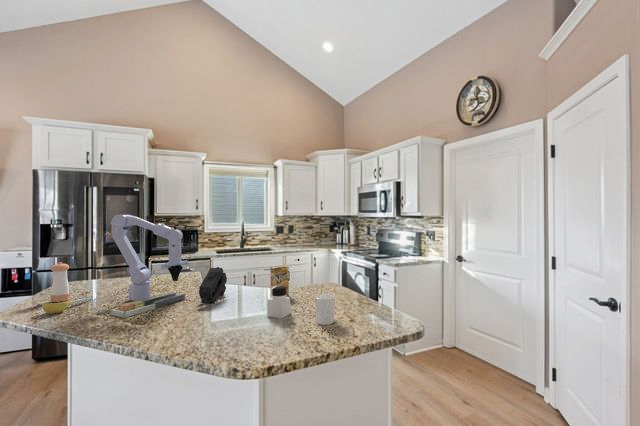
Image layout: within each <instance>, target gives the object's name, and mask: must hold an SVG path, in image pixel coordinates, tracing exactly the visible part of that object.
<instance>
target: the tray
mask: <svg viewBox="0 0 640 426" xmlns="http://www.w3.org/2000/svg"><path fill="white" fill-rule="evenodd" d="M154 309H156V308H155V304H152V305H148V306H144V307H141V308H138V309H134V310H131V311H127V312H123V311H119V307H116V308H112V309H110V315H111V316H115V317H120V318H123V319H125V318H129V317H132V316H135V315H139V314H142V313H146V312H149V311H151V310H154Z"/></svg>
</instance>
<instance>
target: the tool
mask: <svg viewBox="0 0 640 426" xmlns="http://www.w3.org/2000/svg"><path fill="white" fill-rule="evenodd" d="M227 282H228V278H227V274H226V272H224V269H223V267H219V266H217V267H210V268H209V270H208V271H207V273H206V274H205V277H204V278H203V280H202V282H201V284H200V286H199V289H198V295H199V298H200V299H201V300H200V301H201V303H203V304H205V303H210V304H216V303H217V300H218V299H219V297H220V296H224V295H225V292H226V290H227V287H226V284H227Z"/></svg>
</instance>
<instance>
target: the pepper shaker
mask: <svg viewBox="0 0 640 426" xmlns="http://www.w3.org/2000/svg"><path fill="white" fill-rule="evenodd" d="M69 269H70V266H69V264H67V263H63V262H61V261H60V262H58V263H57V264H54V265H52V266H51V267H50V270H51V271H52V283H51V289H50V290H51V294H50V303H51V302H58V303H61V302H60V301H64V302H67V301H66V300H68V301H70V300H71V299H70V298H71V297H70V296H71V295H70V294H71V293H70V291H69V289H70V288H69V287H70V285H69V279H68V270H69ZM69 299H70V300H69Z"/></svg>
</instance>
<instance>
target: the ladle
mask: <svg viewBox="0 0 640 426" xmlns="http://www.w3.org/2000/svg"><path fill="white" fill-rule="evenodd" d="M88 300H89V301H92V300H93V301H94V298H79V299H75V300H71V301H70V300H69V301H65V302H58V303H51V302H50V303H42V304H41V307H42V310H43V311H44V312H45V313H47V314H49V315H54V314H53V313H56V314H59V313H61V312H63V311H65V309H66V308H67V307H68V305H69V304H70V303H71V304H72V303H75V302H79V301H88Z"/></svg>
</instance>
